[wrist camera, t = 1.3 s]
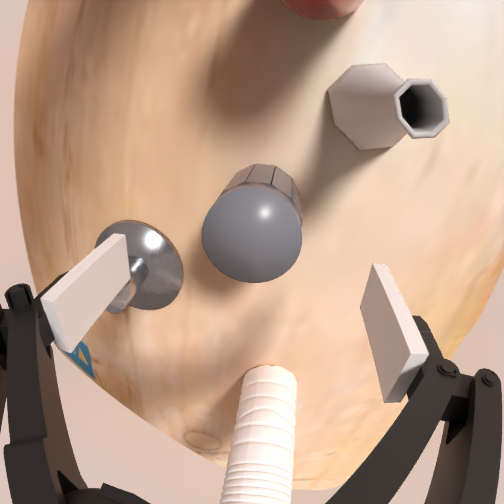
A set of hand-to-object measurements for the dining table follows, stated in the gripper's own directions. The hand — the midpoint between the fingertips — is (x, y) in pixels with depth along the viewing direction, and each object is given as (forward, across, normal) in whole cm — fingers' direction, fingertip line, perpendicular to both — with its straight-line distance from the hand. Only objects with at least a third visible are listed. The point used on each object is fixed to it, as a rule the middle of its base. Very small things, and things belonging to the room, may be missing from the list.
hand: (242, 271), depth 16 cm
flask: (+11, +8, +10) cm, 17 cm away
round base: (+11, -12, -8) cm, 18 cm away
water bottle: (+12, +4, -22) cm, 25 cm away
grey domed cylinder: (+11, 0, 0) cm, 11 cm away
